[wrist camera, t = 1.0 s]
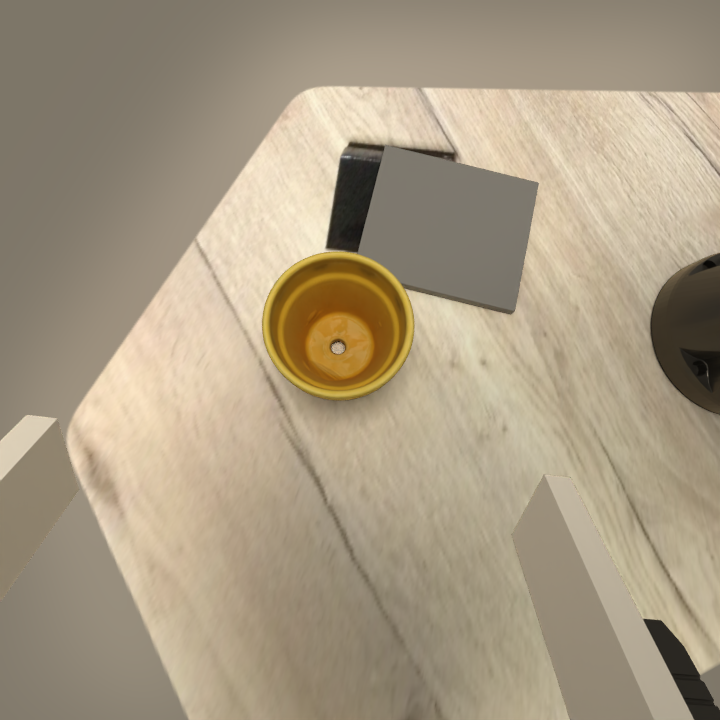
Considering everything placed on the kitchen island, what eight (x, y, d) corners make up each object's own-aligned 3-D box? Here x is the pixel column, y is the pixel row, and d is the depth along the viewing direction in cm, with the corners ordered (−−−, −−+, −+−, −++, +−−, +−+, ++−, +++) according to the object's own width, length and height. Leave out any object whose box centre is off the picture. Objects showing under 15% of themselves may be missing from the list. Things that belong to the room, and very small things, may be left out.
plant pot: (307, 426, 38) (296, 423, 28) (263, 319, 39) (238, 282, 29) (415, 379, 39) (440, 361, 29) (369, 276, 40) (377, 227, 30)
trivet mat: (534, 188, 42) (538, 182, 41) (510, 314, 40) (514, 311, 39) (384, 151, 42) (385, 144, 41) (352, 275, 40) (352, 271, 39)
